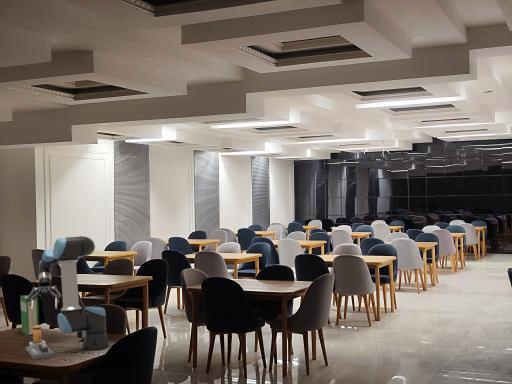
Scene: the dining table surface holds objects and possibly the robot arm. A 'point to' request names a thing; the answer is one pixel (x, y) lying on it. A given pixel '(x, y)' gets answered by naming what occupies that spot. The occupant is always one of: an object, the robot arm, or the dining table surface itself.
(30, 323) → the hardback book
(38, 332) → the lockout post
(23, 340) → the dining table surface
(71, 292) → the robot arm
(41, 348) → the breaker board
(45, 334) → the dining table surface
